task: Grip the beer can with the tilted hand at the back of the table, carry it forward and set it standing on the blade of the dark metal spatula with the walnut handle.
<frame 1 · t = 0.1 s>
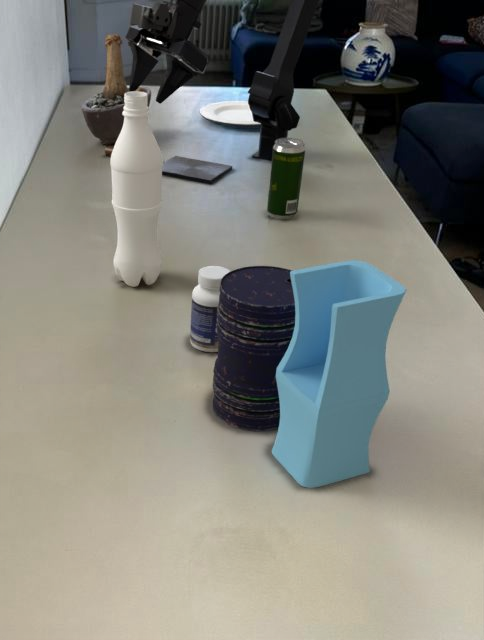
hand: (144, 96, 137), 15 cm above the table, tool tilted 35°, fingers open, 9 cm apart
pill bottle: (210, 344, 100), on the table
storage jar: (253, 408, 88), on the table
beer can: (281, 215, 135), on the table
planter: (118, 141, 168), on the table
water bottle: (138, 281, 114), on the table
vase: (317, 461, 81), on the table
spatula: (192, 171, 152), on the table
plate: (242, 121, 181), on the table
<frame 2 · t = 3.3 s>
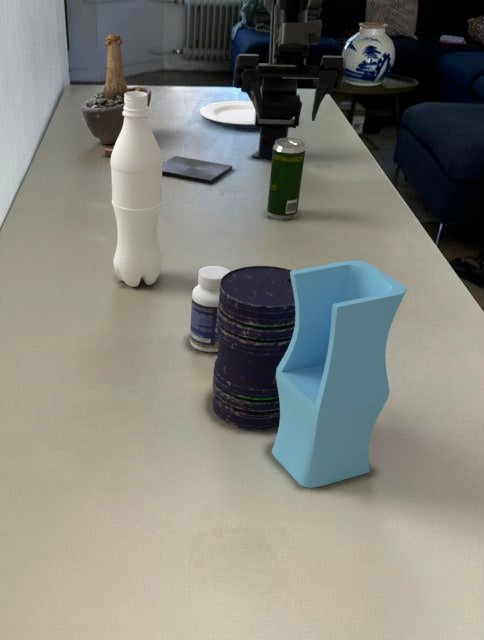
hand: (286, 119, 132), 14 cm above the table, tool tilted 45°, fingers open, 9 cm apart
nothing on the table moved.
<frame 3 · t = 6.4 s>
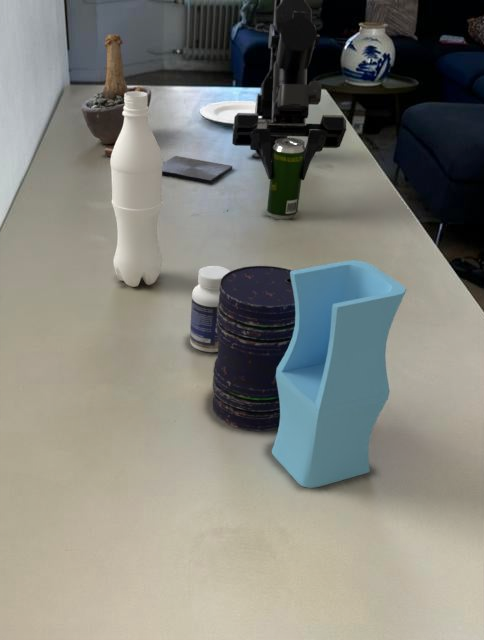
hand: (286, 178, 129), 7 cm above the table, tool tilted 45°, fingers closed on beer can, 5 cm apart
beer can: (281, 215, 135), on the table, touching gripper
everything else where it was.
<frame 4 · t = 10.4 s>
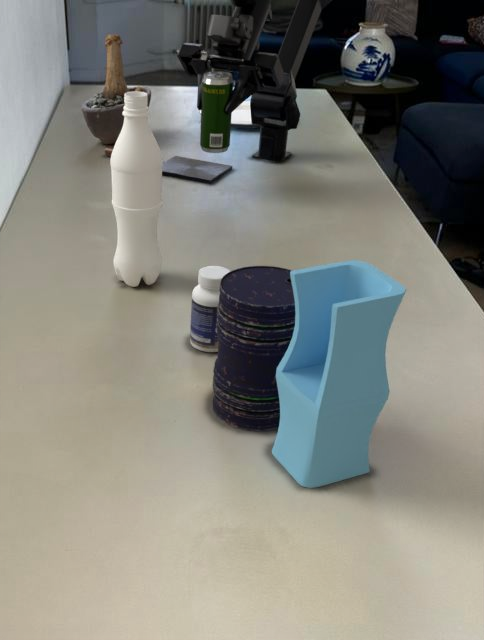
hand: (212, 111, 133), 14 cm above the table, tool tilted 45°, fingers closed on beer can, 5 cm apart
beer can: (214, 150, 138), point 7 cm above the table, touching gripper
everything else where it was.
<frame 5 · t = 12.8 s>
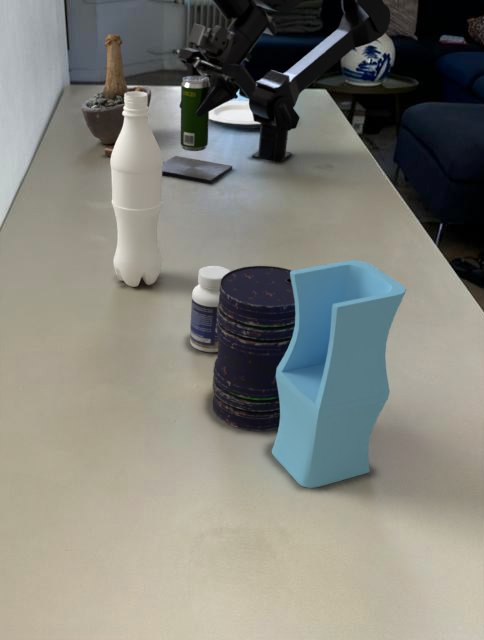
hand: (188, 111, 144), 11 cm above the table, tool tilted 45°, fingers closed on beer can, 5 cm apart
beer can: (194, 148, 149), point 4 cm above the table, touching gripper
everything else where it was.
when the fingers open (7 cm above the table, at t = 14.4 s): beer can stays where it is, resting on spatula.
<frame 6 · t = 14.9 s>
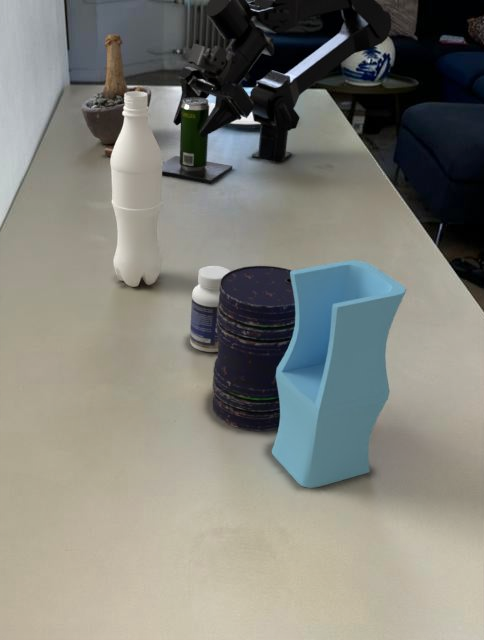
hand: (187, 129, 146), 8 cm above the table, tool tilted 45°, fingers open, 9 cm apart
beer can: (192, 168, 152), point 1 cm above the table, touching spatula
everything else where it was.
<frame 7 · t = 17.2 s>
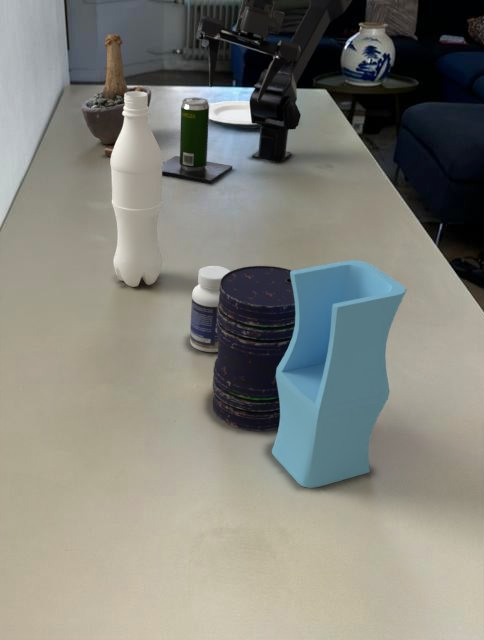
hand: (234, 94, 140), 15 cm above the table, tool tilted 25°, fingers open, 9 cm apart
nothing on the table moved.
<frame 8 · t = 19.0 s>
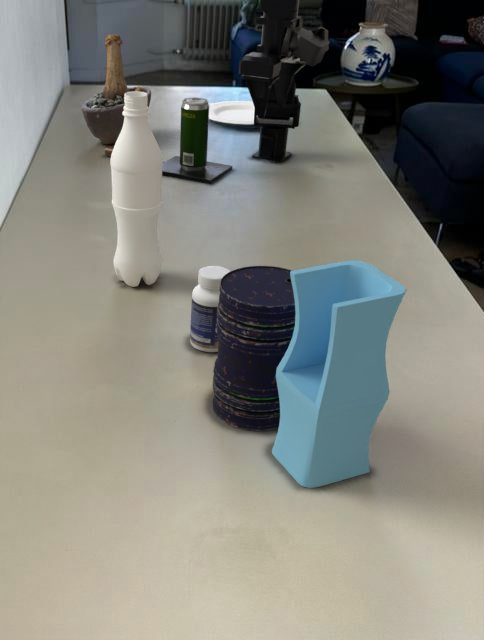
hand: (271, 112, 137), 13 cm above the table, tool pointing down, fingers open, 9 cm apart
nothing on the table moved.
at the end: beer can inside the target area on the spatula (0.1 cm from its centre), point 0.6 cm above the spatula's base; beer can tilted 0°; the gripper is holding nothing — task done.
